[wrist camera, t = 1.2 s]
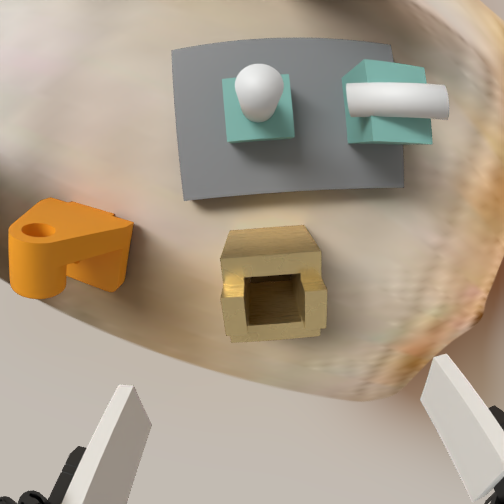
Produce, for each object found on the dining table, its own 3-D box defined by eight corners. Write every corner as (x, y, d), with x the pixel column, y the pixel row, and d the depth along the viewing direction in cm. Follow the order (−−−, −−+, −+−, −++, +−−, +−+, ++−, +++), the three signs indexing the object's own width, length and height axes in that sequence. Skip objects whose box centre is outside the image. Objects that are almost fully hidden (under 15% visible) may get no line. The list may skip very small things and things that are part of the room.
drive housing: (188, 197, 27) (143, 227, 16) (176, 56, 23) (129, 3, 12) (396, 185, 27) (471, 207, 15) (384, 50, 22) (447, 8, 11)
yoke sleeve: (237, 297, 31) (229, 358, 21) (229, 230, 28) (216, 269, 19) (305, 292, 30) (324, 350, 21) (303, 225, 28) (327, 261, 19)
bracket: (50, 255, 30) (-16, 298, 18) (54, 196, 27) (-22, 221, 16) (126, 284, 30) (72, 346, 19) (136, 220, 28) (72, 261, 17)
